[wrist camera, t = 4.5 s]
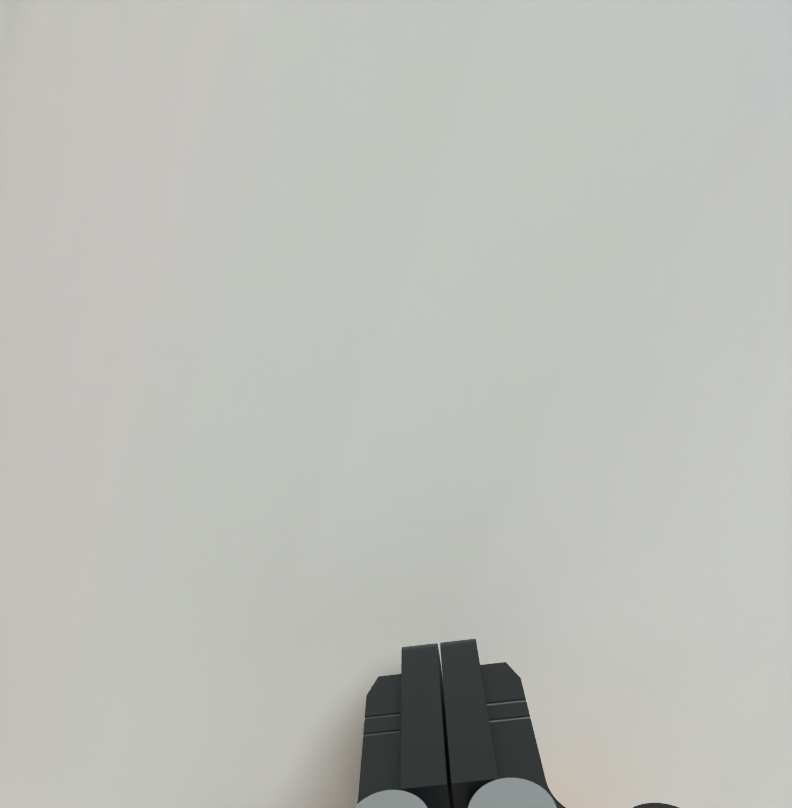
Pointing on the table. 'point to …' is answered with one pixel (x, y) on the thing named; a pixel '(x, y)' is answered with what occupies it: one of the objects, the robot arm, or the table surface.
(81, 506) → the table surface
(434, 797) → the robot arm
